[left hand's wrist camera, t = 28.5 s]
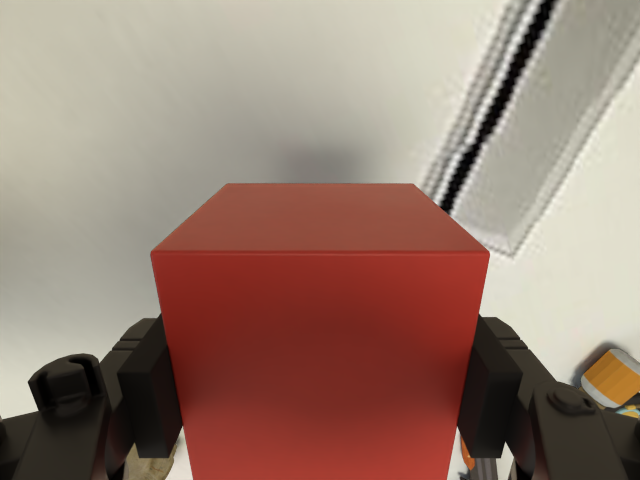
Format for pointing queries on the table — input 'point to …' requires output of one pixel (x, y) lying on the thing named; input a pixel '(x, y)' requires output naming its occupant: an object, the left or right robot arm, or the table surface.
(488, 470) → the toy gun
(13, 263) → the table surface
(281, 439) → the block
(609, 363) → the spray gun
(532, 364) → the left robot arm
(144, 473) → the sculpture
